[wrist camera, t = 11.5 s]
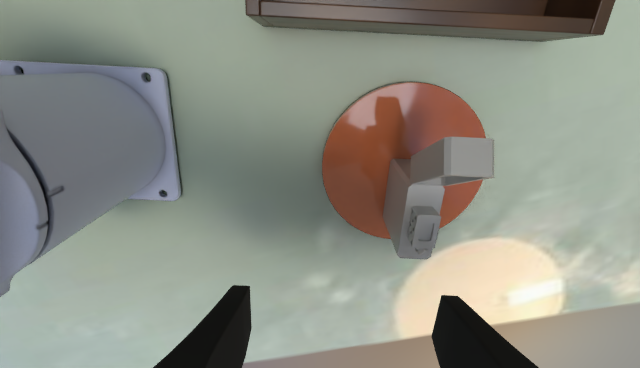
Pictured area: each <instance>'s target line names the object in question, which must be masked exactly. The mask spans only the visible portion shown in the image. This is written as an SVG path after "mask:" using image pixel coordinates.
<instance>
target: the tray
mask: <svg viewBox="0 0 640 368" xmlns="http://www.w3.org/2000/svg"><path fill="white" fill-rule="evenodd" d="M245 1H246V15H247V16H249V17H250V18H252V19H253V20H255V21H256V22H258V23H259V24H261V25H262V26H265V27H284V28H302V29H321V30H339V31H357V32H376V33H394V34H413V35H431V36H449V37H468V38H486V39H505V40H523V41H541V42H543V41H552V40H561V39H570V38H579V37H588V36H597V35H603V34H604V32H605V29H606V26H607V23H608V20H609V17H610V14H611V12H612V9H613V6H614V3H615V0H245Z"/></svg>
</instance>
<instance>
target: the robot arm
mask: <svg viewBox="0 0 640 368" xmlns="http://www.w3.org/2000/svg"><path fill="white" fill-rule="evenodd" d="M20 68H22V69H23V71H24V74H23V73H22V72H21V70H20ZM146 73H148V74H149V75H150V77H151V80H150V82H148V81H147V80H146V78H145V74H146ZM162 190H165V191H166V192H167V195H164V194H163V193H162ZM180 196H181V187H180V178H179V170H178V162H177V154H176V146H175V138H174V130H173V122H172V114H171V105H170V97H169V89H168V81H167V76H166V74H165V72H164V71H163V70H161V69H158V68H144V67H125V66H106V65H88V64H69V63H50V62H31V61H12V60H0V297H1V296H2V295H4V294H5V293H6V292H8V291H9V289H10V282H11V280H12V278H13V276H14V275H15V274H16V273H17V272H19V271H20V270H21V269H23V268H24V267H26V266H27V265H29V264H31V263H32V262H34V261H35V260H37V259H38V258H40V257H41V256H43V255H44V254H46V253H47V252H48V251H50V250H51V249H53V248H54V247H56V246H57V245H59V244H60V243H62V242H63V241H65V240H66V239H68V238H69V237H71V236H72V235H74V234H75V233H77V232H78V231H80V230H81V229H83V228H84V227H85V226H87V225H88V224H90V223H91V222H93V221H94V220H96V219H97V218H99V217H100V216H102V215H103V214H105V213H106V212H108V211H109V210H111V209H112V208H114V207H115V206H117V205H118V204H120V203H121V202H123V201H124V200H125V199H142V200H162V201H175V200H177V199H178V198H179V197H180ZM250 332H251V307H250V286H237V285H233V286H232V287H231V288H230V289H229V290H228V291H227V293H226V294H225V295H224V296H223V297H222V299H221V300H220V301H219V302H218V303H217V304H216V306H215V307H214V308H213V309H212V310H211V311H210V312H209V314H208V315H207V316H206V317H205V318H204V319H203V320H202V321H201V322H200V323H199V324H198V325H197V326H196V328H195V329H194V330H193V331H192V332H191V333H190V334H189V335H188V336H187V337H186V338H185V339H184V340H183V341H182V342H181V343H179V344H178V345H177V346H176V347H175V348H174V349H173V350H172V351H171V352H170V353H169V354H168V355H167V356H166V357H165V358H164V359H162V360H161V361H160V362H159V363H158V364H157V365H156V366H154V367H153V368H242V365H243V362H244V359H245V356H246V351H247V347H248V342H249V337H250ZM432 339H433V344H434V347H435V351H436V355H437V358H438V362H439V365H440V368H538V367H537V366H536V365H535V364H534V363H532V362H531V361H530V360H529V359H528V358H526V357H525V356H524V355H523V354H522V353H520V352H519V351H518V350H517V349H516V348H515V347H513V346H512V345H511V344H510V343H509V342H507V340H505V339H504V338H503V337H502V336H501V335H500V334H499V333H497V332H496V331H495V330H494V329H493V328H492V327H491V326H490V325H489V324H488V323H487V322H486V321H485V320H483V319H482V318H481V317H480V316H479V315H478V314H477V313H476V312H475V311H474V310H473V309H472V308H471V307H469V306H468V305H467V304H466V303H465V302H464V301H463V300H462V299H461V298H459V297H458V296H445V295H442V296H441V300H440V304H439V308H438V312H437V317H436V321H435V325H434V329H433V333H432Z"/></svg>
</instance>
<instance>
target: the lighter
mask: <svg viewBox="0 0 640 368" xmlns="http://www.w3.org/2000/svg"><path fill="white" fill-rule="evenodd" d="M489 178H494V140H493V139H490V138H470V137H444V138H443V139H441V140H439V141H437V142H435V143H434V144H432V145H430V146H428V147H426V148H425V149H423V150H421V151H419V152H418V153H416V154H414V155H412V156H411V159H392V160H391V161H390V167H389V174H388V182H387V189H386V196H385V203H384V211H383V219H384V222H385V224H386V227H387V230H388V232H389V235H390V237H391V240H392V242H393V245H394V248H395V250H396V253H397V255H398V256H399V257H400V258H409V259H428V258H429V257H431V253H432V248H435V244H436V239H437V235H438V230H439V225H440V221H441V216H440V210H441V206H442V201H443V196H444V191H445V189H444V187H443V186H450V185H455V184H461V183H467V182H472V181H478V180H484V179H489Z"/></svg>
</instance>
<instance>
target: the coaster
mask: <svg viewBox="0 0 640 368" xmlns="http://www.w3.org/2000/svg"><path fill="white" fill-rule="evenodd" d="M444 137H470V138H486V136H485V132H484V129H483V127H482V125H481V122H480V120H479V119H478V117H477V115H476V114H475V112H474V111H473V110H472V109H471V107H470V106H469V105H468V104H467V103H466V102H465V101H464V100H462V99H461V98H460V97H459V96H457V95H456V94H454V93H452V92H451V91H449V90H446V89H444V88H442V87H439V86H436V85H432V84H428V83H421V82H400V83H393V84H389V85H386V86H382V87H379V88H377V89H375V90H372V91H370V92H368V93H367V94H365V95H363V96H362V97H360V98H359V99H357V100H356V101H355V102H354V103H352V104H351V105H350V106H349V107H348V108H347V109H346V110H345V111H344V112H343V113H342V114H341V116H340V117H339V118H338V120H337V121H336V122H335V124H334V126H333V128H332V129H331V131H330V133H329V136H328V138H327V141H326V144H325V148H324V152H323V160H322V175H323V182H324V186H325V189H326V193H327V195H328V197H329V199H330V202H331V203H332V205H333V206H334V208H335V209H336V211H337V212H338V213H339V214H340V215H341V217H342V218H344V219H345V220H346V221H347V222H348V223H349V224H351V225H352V226H354V227H355V228H357V229H359V230H361V231H363V232H365V233H367V234H370V235H373V236H376V237H381V238H387V239H391V237H390V235H389V232H388V230H387V227H386V224H385V222H384V219H383V211H384V203H385V196H386V189H387V182H388V174H389V167H390V161H391V160H392V159H411V156H412V155H414V154H416V153H418V152H419V151H421V150H423V149H425V148H426V147H428V146H430V145H432V144H434V143H435V142H437V141H439V140H441V139H443V138H444ZM482 181H483V180H478V181H472V182H467V183H461V184H455V185H450V186H443V187H444V189H445V191H444V196H443V201H442V206H441V210H440V216H441V221H440V225H439V229H440V228H442V227H443V226H445V225H446V224H448V223H450V222H451V221H452V220H453V219H455V218H456V217H457V216H458V215H459V214H460V213H462V212H463V211H464V210H465V209H466V207H467V206H468V205H469V204H470V202H471V201H472V200H473V198H474V197H475V195H476V193H477V192H478V190H479V188H480V185H481V183H482Z"/></svg>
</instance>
